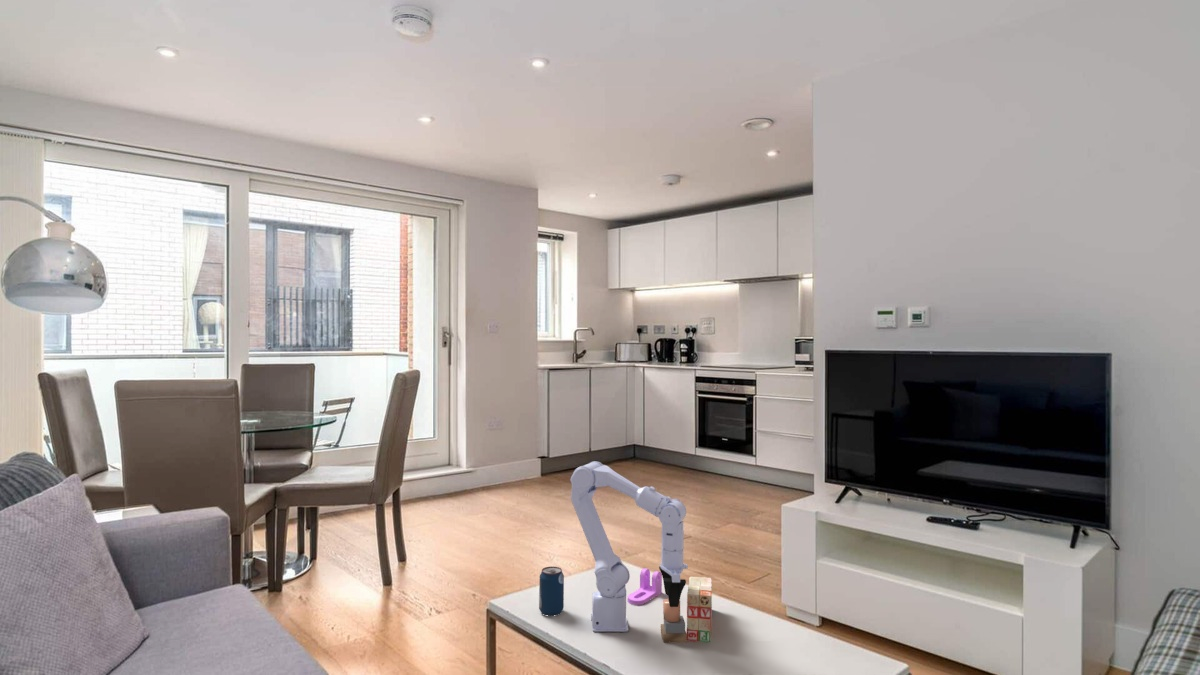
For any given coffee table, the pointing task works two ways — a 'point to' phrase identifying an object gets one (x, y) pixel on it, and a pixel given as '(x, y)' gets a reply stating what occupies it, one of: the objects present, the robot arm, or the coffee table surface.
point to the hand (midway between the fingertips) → (671, 600)
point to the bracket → (646, 588)
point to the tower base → (673, 636)
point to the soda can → (551, 591)
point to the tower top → (675, 626)
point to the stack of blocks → (699, 609)
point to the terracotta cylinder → (671, 612)
